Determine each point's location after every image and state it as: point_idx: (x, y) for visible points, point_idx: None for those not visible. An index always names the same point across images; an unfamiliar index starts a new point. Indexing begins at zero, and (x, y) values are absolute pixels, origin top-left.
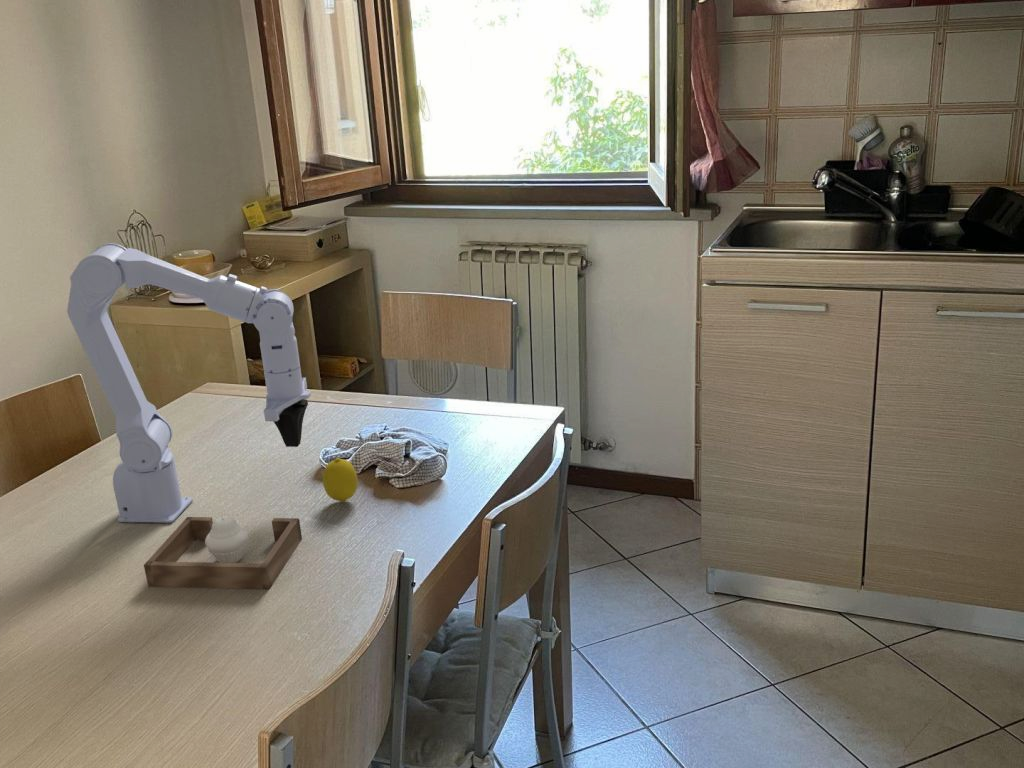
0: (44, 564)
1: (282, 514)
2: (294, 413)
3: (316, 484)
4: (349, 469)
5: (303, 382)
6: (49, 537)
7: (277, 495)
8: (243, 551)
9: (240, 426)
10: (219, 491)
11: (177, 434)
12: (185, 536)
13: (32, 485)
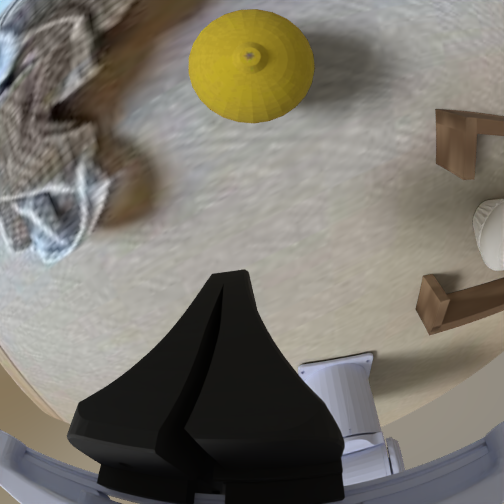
0: (436, 387)
1: (340, 197)
2: (341, 437)
3: (174, 192)
4: (261, 11)
5: (12, 495)
6: (384, 412)
7: (251, 252)
8: (496, 199)
9: (77, 385)
10: None
11: None
12: (454, 308)
13: None
